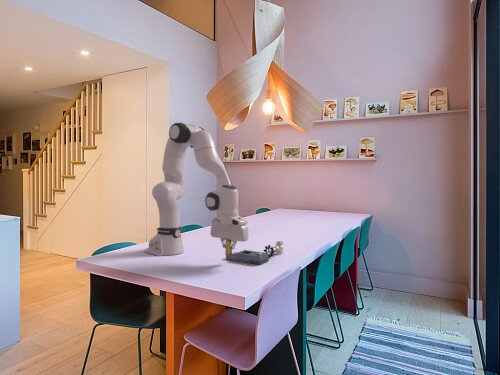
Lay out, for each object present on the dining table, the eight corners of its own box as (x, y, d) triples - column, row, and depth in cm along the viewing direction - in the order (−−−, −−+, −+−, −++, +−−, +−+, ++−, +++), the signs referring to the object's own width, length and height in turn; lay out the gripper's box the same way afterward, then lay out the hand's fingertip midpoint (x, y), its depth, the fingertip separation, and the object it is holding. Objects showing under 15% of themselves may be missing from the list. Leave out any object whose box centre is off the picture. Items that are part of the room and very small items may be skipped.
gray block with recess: (226, 259, 170) (225, 250, 170) (235, 256, 177) (235, 247, 177) (260, 265, 159) (260, 255, 159) (268, 261, 166) (268, 252, 166)
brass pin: (223, 255, 160) (223, 236, 160) (227, 253, 164) (228, 235, 163) (229, 256, 158) (229, 237, 158) (234, 255, 162) (234, 236, 161)
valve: (276, 252, 185) (263, 256, 175) (276, 240, 184) (263, 244, 175) (286, 254, 181) (274, 258, 171) (286, 242, 180) (274, 246, 171)
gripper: (207, 218, 163) (207, 246, 164) (242, 222, 152) (242, 252, 153) (216, 216, 168) (215, 244, 169) (250, 220, 157) (249, 250, 158)
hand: (228, 248), depth 161 cm, fingers closed on brass pin, 3 cm apart
